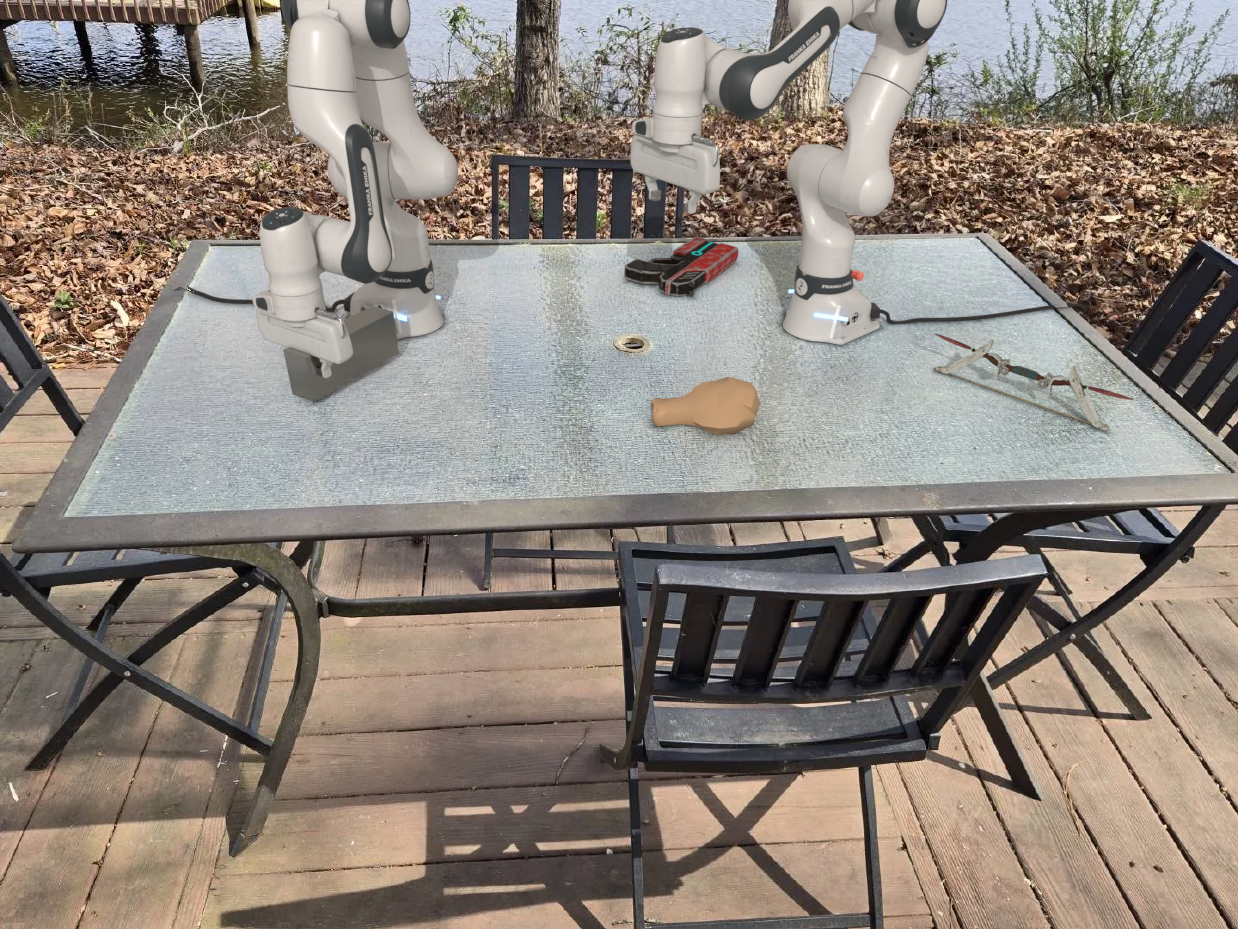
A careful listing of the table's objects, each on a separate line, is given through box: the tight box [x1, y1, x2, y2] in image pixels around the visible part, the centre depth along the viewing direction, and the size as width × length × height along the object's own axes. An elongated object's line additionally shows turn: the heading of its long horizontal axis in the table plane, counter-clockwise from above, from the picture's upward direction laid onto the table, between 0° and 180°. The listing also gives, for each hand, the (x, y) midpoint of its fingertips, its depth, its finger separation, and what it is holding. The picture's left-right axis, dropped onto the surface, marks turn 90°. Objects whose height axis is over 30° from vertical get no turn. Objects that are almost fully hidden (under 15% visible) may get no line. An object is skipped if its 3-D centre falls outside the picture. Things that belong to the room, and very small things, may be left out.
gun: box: [623, 236, 739, 298], centre depth 223 cm, size 4×31×19 cm
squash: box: [650, 376, 761, 436], centre depth 160 cm, size 11×20×9 cm, turn 90°
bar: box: [282, 306, 400, 403], centre depth 170 cm, size 23×6×9 cm, turn 150°
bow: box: [934, 333, 1135, 431], centre depth 171 cm, size 39×2×10 cm, turn 47°
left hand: (312, 371), depth 164 cm, fingers closed on bar, 5 cm apart
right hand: (672, 206), depth 164 cm, fingers open, 8 cm apart
